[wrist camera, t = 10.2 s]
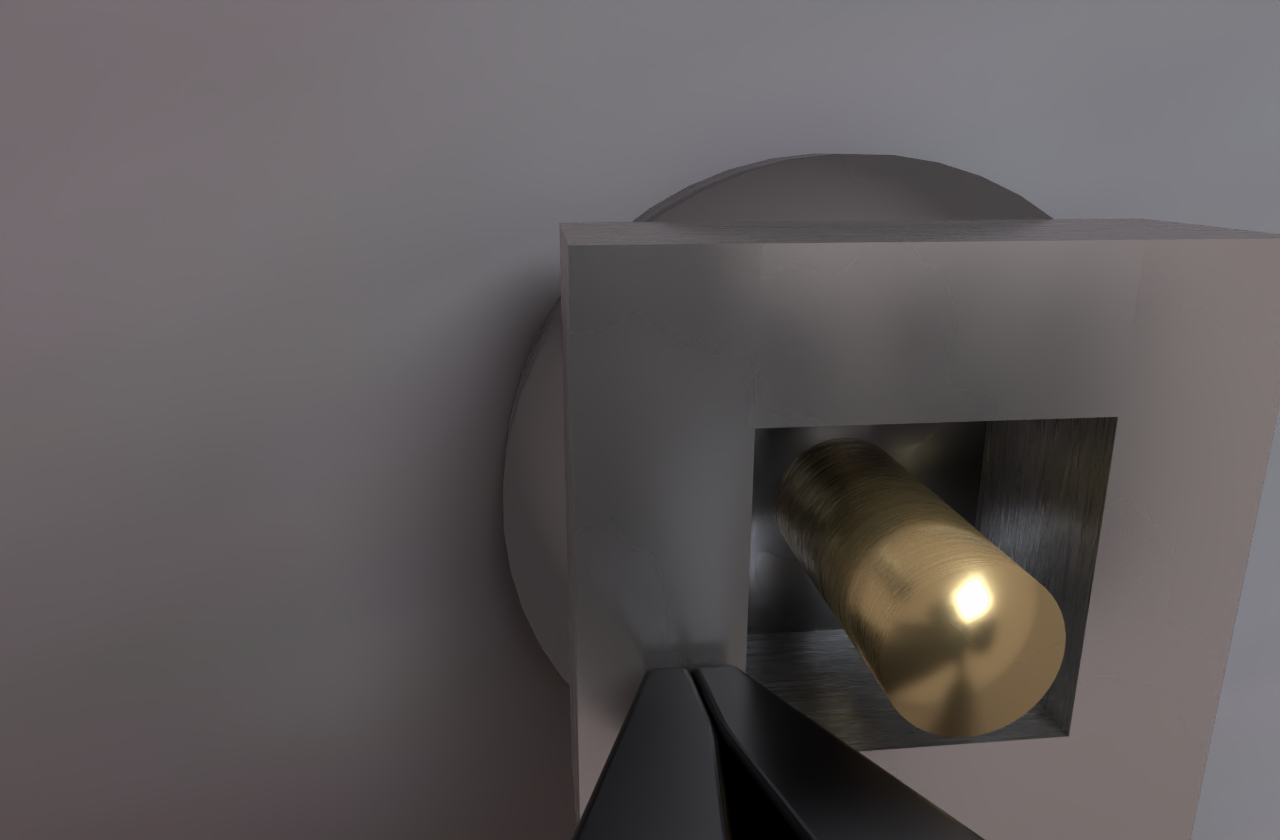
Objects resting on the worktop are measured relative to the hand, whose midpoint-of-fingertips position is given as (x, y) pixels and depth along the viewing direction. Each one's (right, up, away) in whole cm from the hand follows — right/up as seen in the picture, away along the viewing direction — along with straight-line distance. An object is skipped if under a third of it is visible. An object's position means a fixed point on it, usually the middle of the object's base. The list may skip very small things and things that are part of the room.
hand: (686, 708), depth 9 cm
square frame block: (+2, +2, +2) cm, 4 cm away
